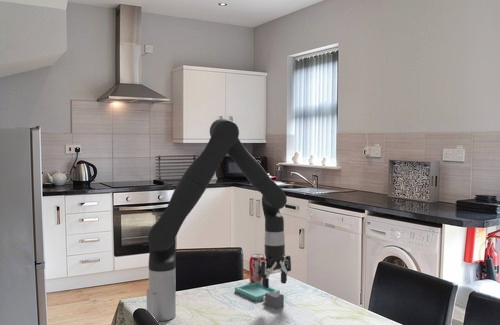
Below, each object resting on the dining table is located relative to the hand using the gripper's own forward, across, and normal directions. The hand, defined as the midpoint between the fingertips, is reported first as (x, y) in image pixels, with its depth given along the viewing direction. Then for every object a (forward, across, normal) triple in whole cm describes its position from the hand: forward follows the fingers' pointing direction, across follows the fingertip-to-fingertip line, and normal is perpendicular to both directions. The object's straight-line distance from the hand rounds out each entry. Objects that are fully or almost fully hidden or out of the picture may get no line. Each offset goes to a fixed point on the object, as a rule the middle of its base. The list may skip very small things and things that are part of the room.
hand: (275, 285), depth 168 cm
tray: (+8, +3, +14) cm, 17 cm away
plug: (+8, 0, 0) cm, 8 cm away
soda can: (+8, +12, +25) cm, 29 cm away
